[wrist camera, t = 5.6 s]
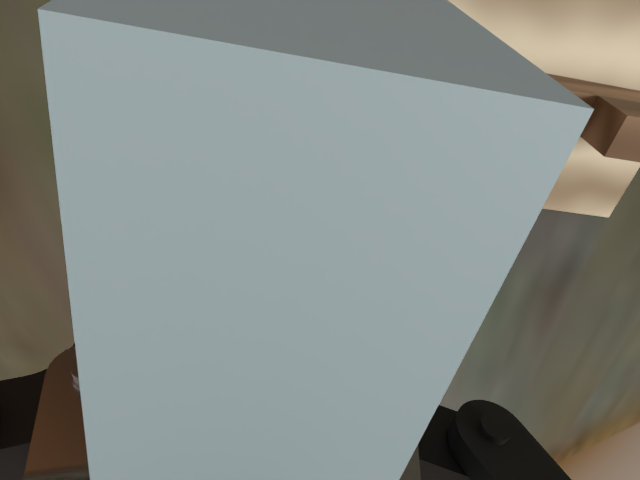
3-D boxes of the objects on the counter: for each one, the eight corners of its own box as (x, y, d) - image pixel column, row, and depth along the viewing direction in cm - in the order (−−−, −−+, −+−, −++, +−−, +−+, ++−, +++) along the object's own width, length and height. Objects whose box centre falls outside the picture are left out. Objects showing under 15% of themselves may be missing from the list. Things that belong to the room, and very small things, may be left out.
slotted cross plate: (227, -105, 13) (37, 8, 2) (342, -78, 13) (593, 109, 3) (196, 301, 21) (118, 740, 10) (268, 308, 21) (266, 732, 11)
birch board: (176, -155, 24) (172, -156, 23) (738, -20, 30) (751, -17, 29) (167, 150, 33) (165, 157, 32) (601, 210, 39) (608, 217, 38)
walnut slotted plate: (384, 42, 29) (407, 76, 24) (681, 98, 33) (753, 137, 28) (373, 83, 31) (393, 123, 26) (660, 132, 34) (725, 175, 29)
